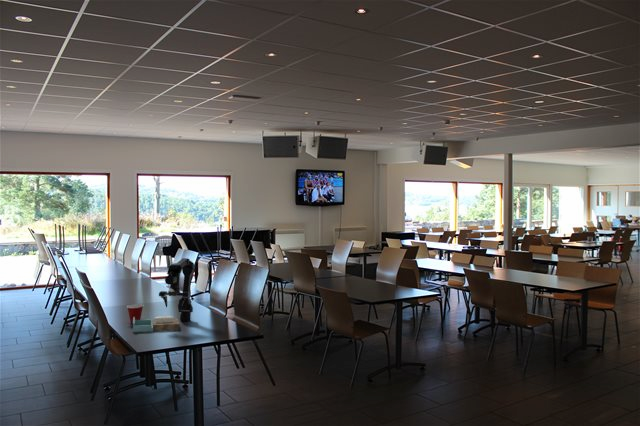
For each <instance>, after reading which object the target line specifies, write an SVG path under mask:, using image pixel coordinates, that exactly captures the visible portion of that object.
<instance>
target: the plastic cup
mask: <svg viewBox="0 0 640 426" xmlns="http://www.w3.org/2000/svg"><path fill="white" fill-rule="evenodd" d="M144 306H145V305H144V304H141V303H136V304H135V303H134V304H129V305H127V306H126V308H127V310H128V311H127V312H128V317H129V322H130V324H132V325H133V317H135V320H142V319H141V318H142V313H143V308H144Z"/></svg>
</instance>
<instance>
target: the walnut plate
mask: <svg viewBox="0 0 640 426" xmlns="http://www.w3.org/2000/svg"><path fill="white" fill-rule="evenodd" d="M151 322H153V332H163V331H164V332H167V331H180V320H179V319H178V318H176V317H175V318H173V319H172V322H165V323H155V318H154V319H152V320H151Z"/></svg>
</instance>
